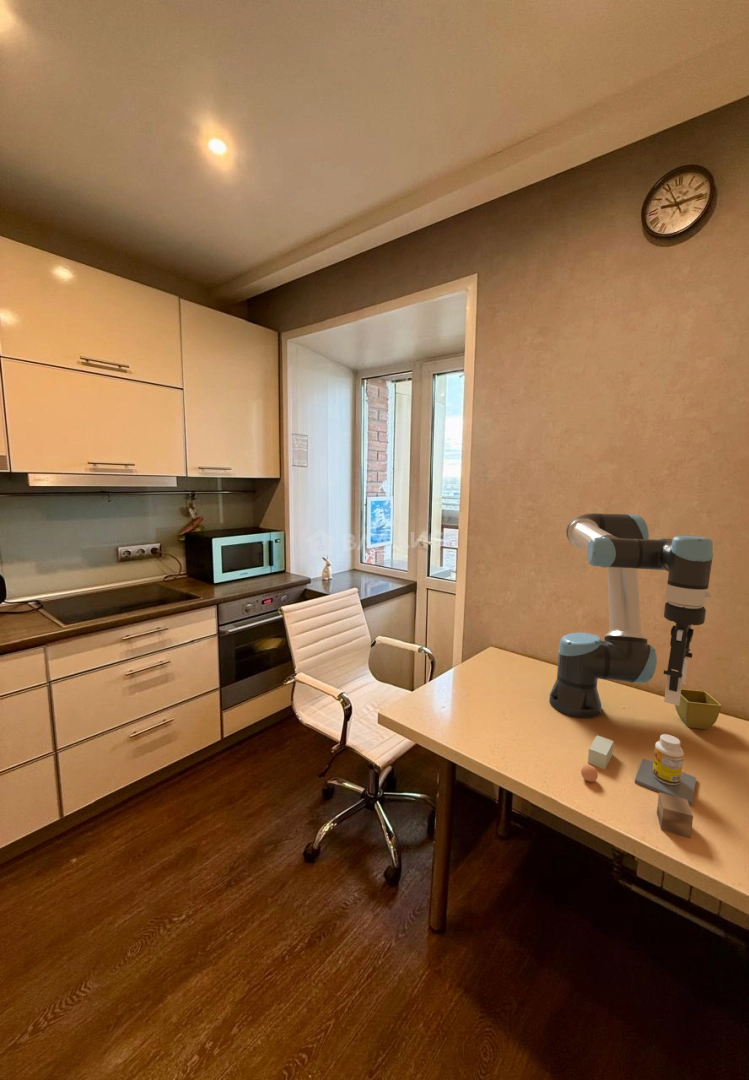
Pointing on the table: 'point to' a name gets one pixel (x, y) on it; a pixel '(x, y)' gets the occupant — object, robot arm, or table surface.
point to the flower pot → (697, 709)
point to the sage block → (600, 752)
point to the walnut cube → (674, 815)
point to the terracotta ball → (589, 773)
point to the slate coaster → (648, 780)
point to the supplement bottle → (668, 760)
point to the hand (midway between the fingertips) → (675, 692)
